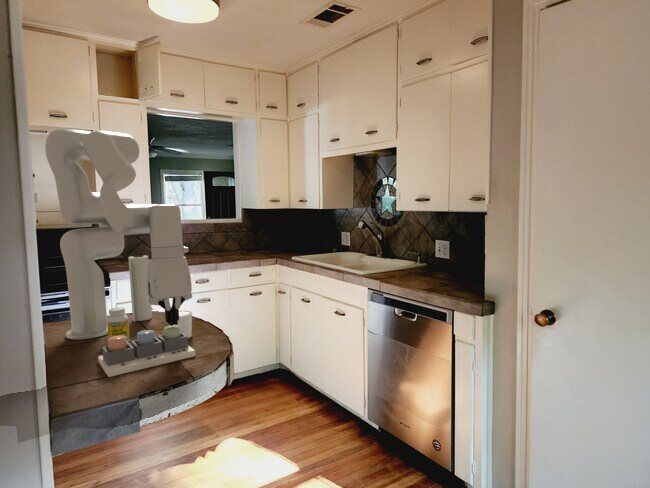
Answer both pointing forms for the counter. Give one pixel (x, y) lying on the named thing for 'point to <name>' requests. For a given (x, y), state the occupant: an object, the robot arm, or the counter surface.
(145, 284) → the paper towel roll
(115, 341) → the button one
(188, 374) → the counter surface
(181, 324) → the white tapered cup
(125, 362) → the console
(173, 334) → the button three
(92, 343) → the counter surface
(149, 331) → the button two
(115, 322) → the supplement bottle
